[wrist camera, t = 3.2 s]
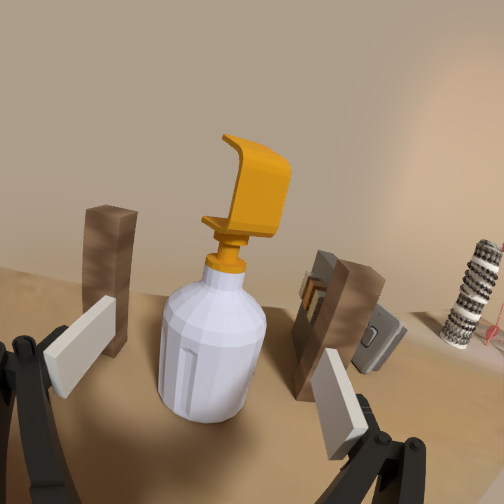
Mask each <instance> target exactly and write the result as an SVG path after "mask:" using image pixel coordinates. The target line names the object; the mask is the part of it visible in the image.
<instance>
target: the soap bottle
mask: <svg viewBox="0 0 504 504" xmlns="http://www.w3.org/2000/svg"><path fill="white" fill-rule="evenodd" d="M222 139H223V140H224V141H225V142H227V143H228V144H229V145H230V146H232V147H233V148H234V149H235V150H237V152H238V154H239V161H240V163H239V171H238V175H237V180H236V185H235V189H234V193H233V198H232V203H231V207H230V212H229V216H228V219H227V218H218V217H210V216H203V217H202V222H203V223H205V224H206V225H208V226H209V227H211V228H212V229H214V230H215V232H214V239H216V240H218V241H220V243H219V248H218V253H211V254H208V255H207V257H206V261H205V266H204V271H203V277H202V280H200V281H197V282H193V283H190V284H187V285H185V286H183V287H181V288H180V289H177V290H176V291H175V292H173V294H171V295H170V296H169V298H168V300H167V302H166V303H165V305H164V311H163V320H162V332H161V345H160V361H159V383H158V392H159V394H160V396H161V398H162V401H163V403H164V404H165V405H166V406H167V407H168V408H169V409H170V410H171V411H172V412H173V413H175V414H177V415H178V416H181V417H183V418H185V419H187V420H189V421H194V422H199V423H205V424H206V423H217V422H222V421H225V420H227V419H229V418H231V417H233V416H235V415H236V414H237V413H238V412H239V410H240V409H241V408H242V407H243V405H244V402H245V398H246V395H247V392H248V389H249V386H250V383H251V379H252V376H253V373H254V370H255V367H256V363H257V360H258V357H259V353H260V350H261V347H262V343H263V340H264V337H265V332H266V327H267V324H266V316H265V314H264V312H263V310H262V308H261V306H260V305H259V304H258V303H257V302H256V300H255V299H254V298H253V297H252V296H251V295H249V294H248V293H247V292H246V291H244V290H243V289H242V284H243V280H244V275H245V269H246V262H245V261H244V260H242V259H240V258H238V254H239V249H240V246H245V245H248V240H249V236H256V237H268V238H271V237H272V236H274V235H275V234H276V232H277V229H278V227H279V223H280V219H281V215H282V211H283V207H284V202H285V198H286V194H287V190H288V185H289V182H290V176H291V169H290V164H289V163H288V162H287V160H286V159H285V158H283V157H281V156H280V155H279V154H277V153H275V152H274V151H272V150H271V149H269V148H268V147H266V146H263V145H261V144H258V143H255V142H252V141H249V140H245V139H241V138H238V137H235V136H231V135H227V134H224V135H223V137H222Z"/></svg>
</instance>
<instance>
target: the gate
mask: <svg viewBox="0 0 504 504" xmlns="http://www.w3.org/2000/svg"><path fill="white" fill-rule="evenodd" d="M137 214H138V212H137V211H132V210H128V209H123V208H119V207H114V206H109V205H103V206H99V207H95V208H90V209H87V210H86V216H85V227H84V241H83V265H82V266H83V267H82V299H83V314H84V313H86V312H87V311H88V310H89V309H90V308H91V307H92V306H94V305H95V304H96V303H97V302H98V301H99V300H100V299H102V298H103V297H104V296H105V295H107V296H110V297H113V298H116V316H115V336H114V337H113V339H112V340H111V341H110V342H109V344H108V345H107V346H106V347H105V348H104V350H103V351H102V352H101V353H102V354H105V355H107V356H110V357H113V358H115V357H116V355H117V354H118V353H119V351H120V350H121V348H122V347H123V346H124V344H125V343H126V341H127V326H128V301H129V285H130V272H131V261H132V252H133V243H134V234H135V227H136V220H137ZM384 283H385V279H384V278H383V277H382V276H380V275H379V274H378V273H377V272H376V271H375V270H373V269H372V268H371V267H369V266H364V265H361V264H356V263H353V262H349V261H345V260H341V259H337V262H336V265H335V268H334V271H333V274H332V277H331V280H330V283H329V286H328V289H327V292H326V295H325V297H324V300H323V303H322V306H321V308H320V311H319V314H318V317H317V319H316V322H315V325H314V327H313V330H312V332H311V335H310V338H309V340H308V343H307V345H306V348H305V350H304V353H303V355H302V357H301V360H300V362H299V365H298V367H297V369H296V372H295V374H294V376H293V385H294V391H295V397H296V401H306V402H315V398H314V394H313V389H312V385H311V381H310V380H311V378H312V376H313V374H314V372H315V370H316V367H317V365H318V363H319V361H320V359H321V356H322V354H323V352H324V350H325V348H330V349H336V350H337V352H338V354H339V357H340V359H341V361H342V364H343V366H344V368H345V371H346V369H347V367H348V365H349V363H350V361H351V359H352V357H353V355H354V353H355V351H356V349H357V347H358V345H359V343H360V341H361V338H362V336H363V334H364V332H365V330H366V327H367V325H368V323H369V320H370V318H371V316H372V313H373V311H374V309H375V306H376V304H377V301H378V299H379V296H380V294H381V291H382V288H383V285H384Z"/></svg>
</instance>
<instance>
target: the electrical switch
mask: <svg viewBox="0 0 504 504" xmlns="http://www.w3.org/2000/svg"><path fill="white" fill-rule="evenodd" d="M406 332H407V329H406V328H404V327H403V322H402V321H401V320H399V319H398V318H397V317H396V316H394V315H393V314H392V313H391V312H389V311H388V310H387V309H386V308H384V307H383V306H382V305H381V304H379V303H378V302H377V304H376V306H375V309H374V311H373V313H372V316H371V318H370V320H369V323H368V325H367V327H366V330H365V332H364V334H363V336H362V338H361V341H360V343H359V345H358V347H357V349H356V351H355V353H354V355H353V357H352V359H351V360H352V362H353V363H354V364H355V365H356V367H357V368H358V369H359V370H360V372H361V373H364V374H368V373H369V372H370V371H371V370H376V371H378V370H379V369H380V368H381V367H382V365H383V364H384V363H385V361H386V360H387V359H388V357H389V356H390V355H391V353H392V352H393V351H394V349H395V348H396V347H397V345H398V344H399V342H400V341H401V340H402V338H403V337H404V335H405V334H406ZM390 344H391V345H390ZM383 354H385V355H383Z"/></svg>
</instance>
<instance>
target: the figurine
mask: <svg viewBox="0 0 504 504" xmlns="http://www.w3.org/2000/svg"><path fill="white" fill-rule="evenodd" d="M502 252H504V243H503V247H502ZM503 305H504V304H503ZM502 309H503V306H502V308H501V312H502ZM501 312H500V315H501ZM500 315H499V318H500ZM499 318H498V321H499ZM498 321H497V323H496V325H493V326H491V327H490V328H489V329H488V330H487V332H486V339H488V341H487V343H486V344H485V345H486V346H487V344H488V342H489V341H490V339H491V338H492V337H493V338H494V336H496V335H497V334H498V332H499V326H497V324H498ZM481 333H482V332H481ZM484 334H485V333H484ZM495 339H496V338H495ZM497 340H498V339H497ZM499 341H500V340H499ZM502 343H504V342H502Z"/></svg>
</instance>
